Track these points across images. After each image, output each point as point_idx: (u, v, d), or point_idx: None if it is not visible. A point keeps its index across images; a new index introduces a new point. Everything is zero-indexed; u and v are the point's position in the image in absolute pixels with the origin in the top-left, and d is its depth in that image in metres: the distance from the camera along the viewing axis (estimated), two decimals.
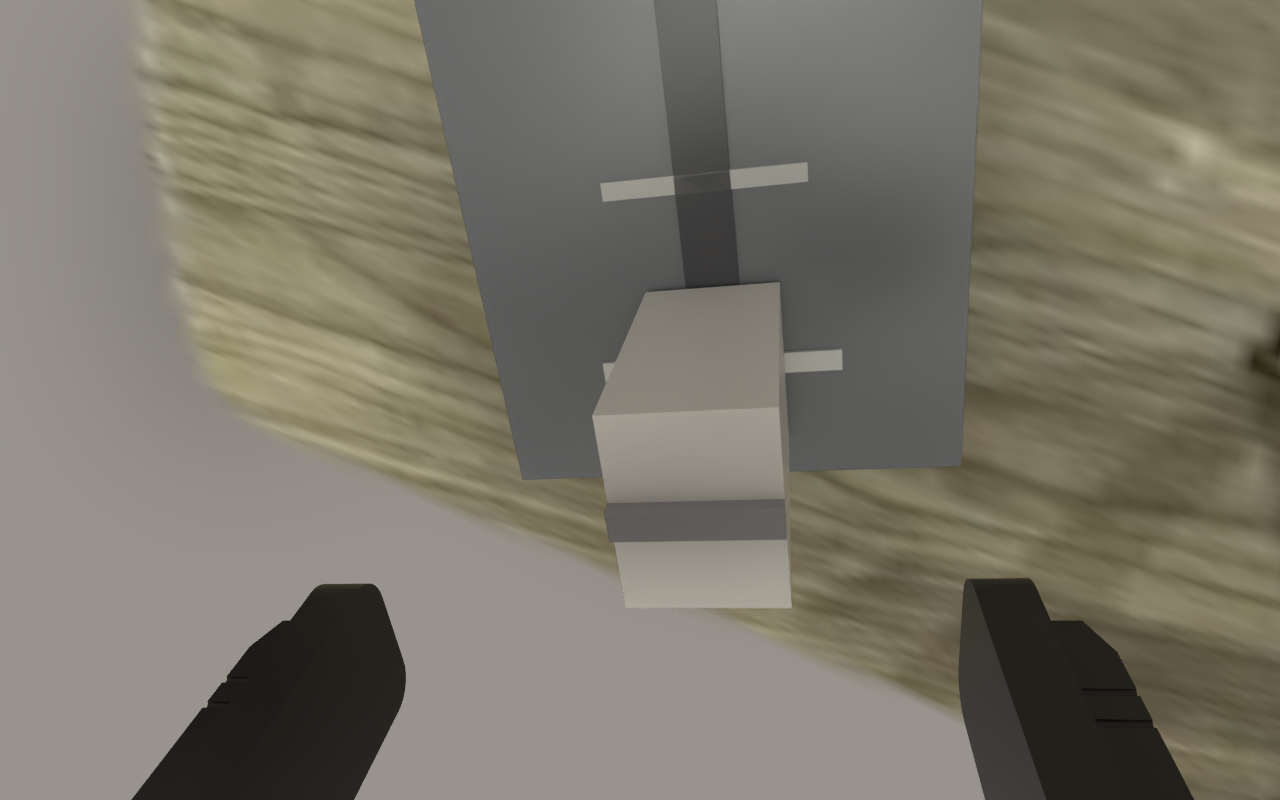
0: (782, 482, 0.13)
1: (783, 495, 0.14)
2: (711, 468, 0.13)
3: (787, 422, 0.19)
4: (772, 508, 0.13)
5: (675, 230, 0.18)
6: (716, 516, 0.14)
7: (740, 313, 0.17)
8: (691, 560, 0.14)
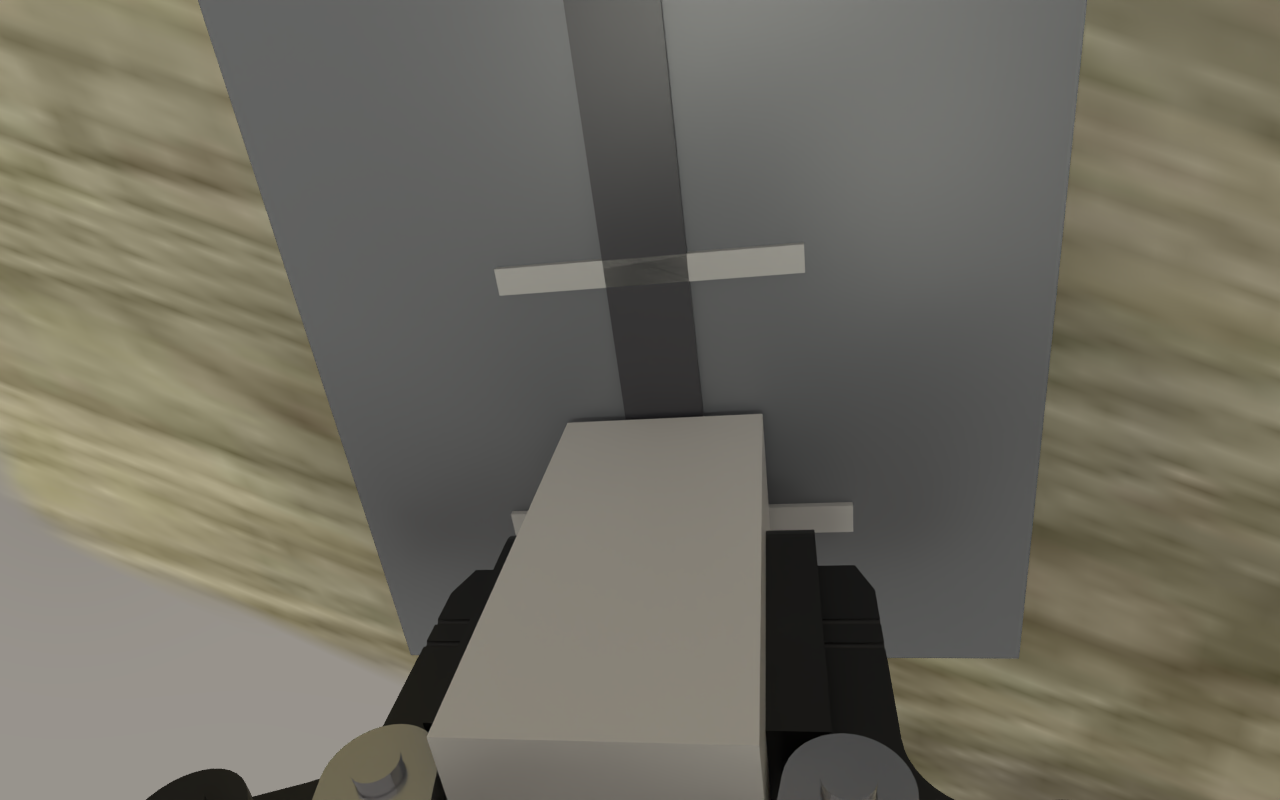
0: None
1: None
2: None
3: None
4: None
5: (608, 337, 0.12)
6: None
7: (701, 479, 0.11)
8: None
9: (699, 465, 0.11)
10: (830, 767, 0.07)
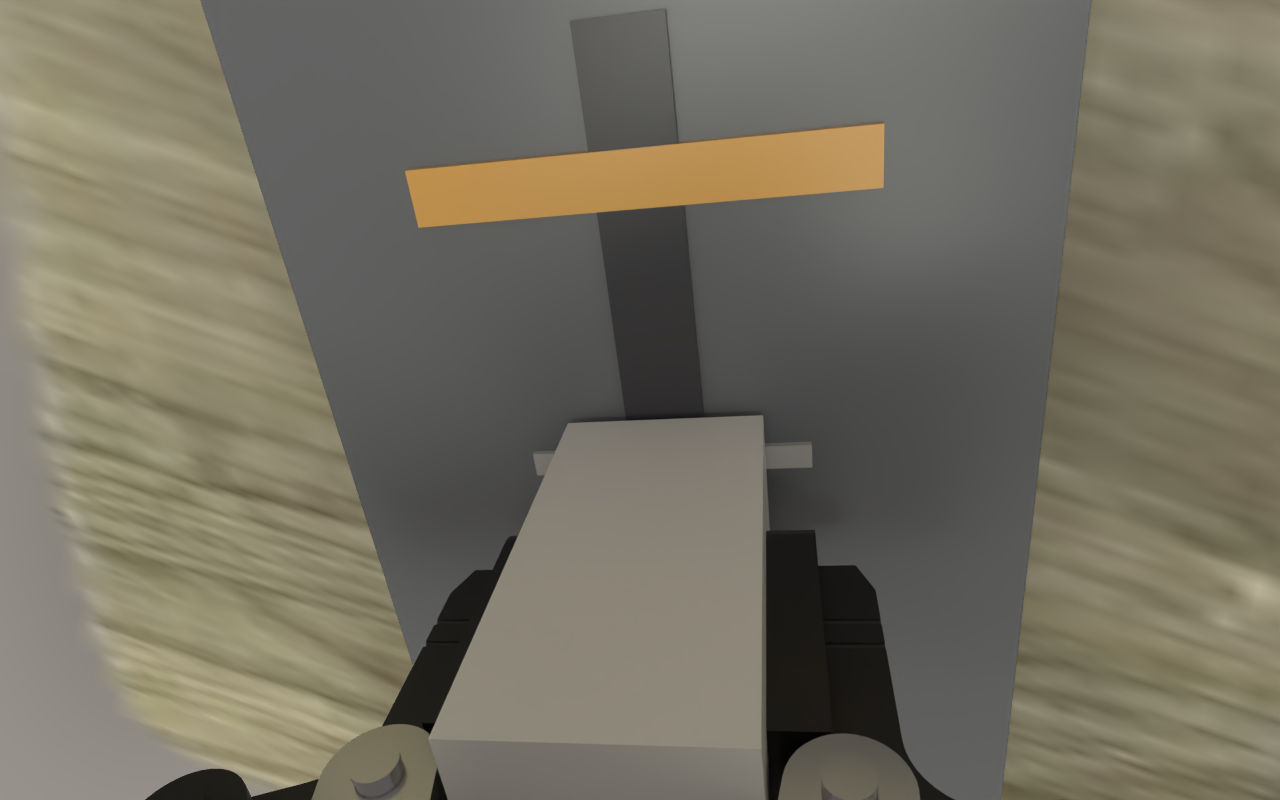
0: None
1: None
2: None
3: None
4: None
5: None
6: None
7: (702, 481, 0.11)
8: None
9: (700, 466, 0.11)
10: (831, 767, 0.07)
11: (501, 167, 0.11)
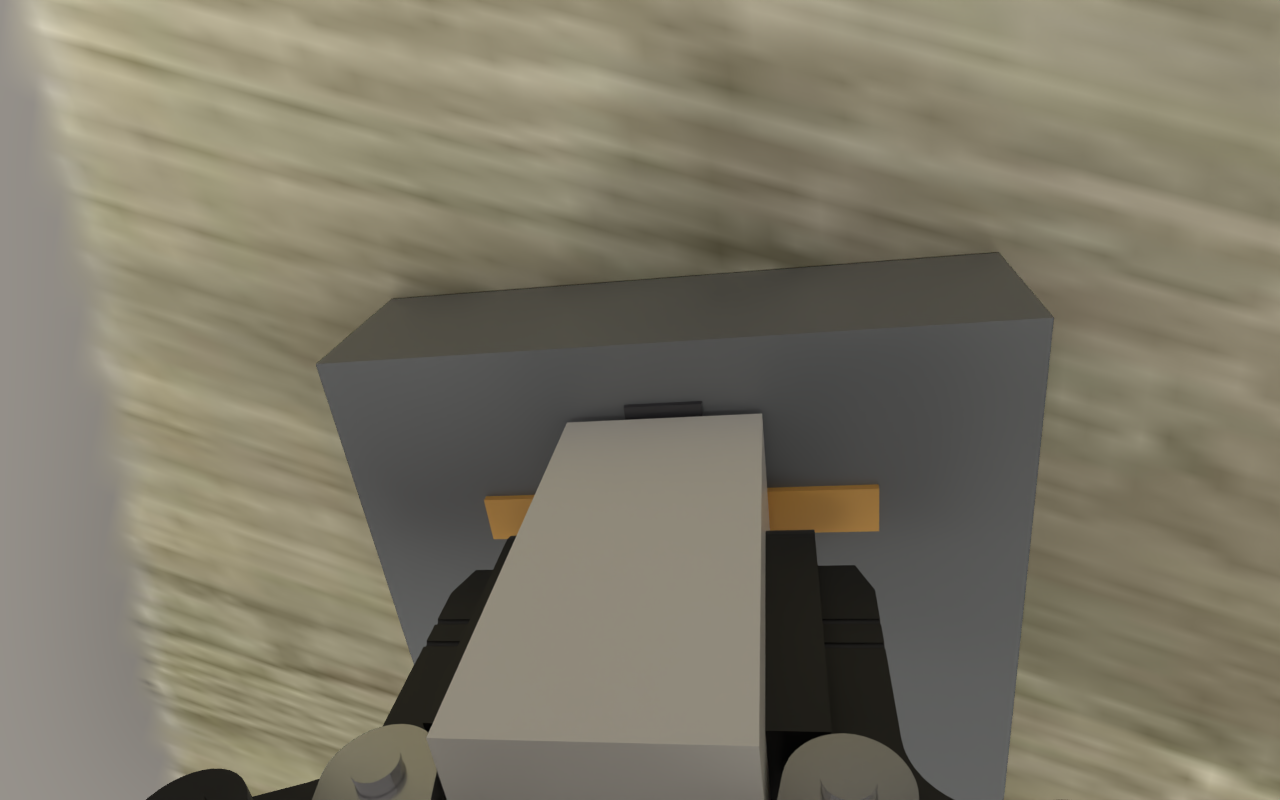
0: None
1: None
2: None
3: None
4: None
5: None
6: None
7: (701, 479, 0.11)
8: None
9: (699, 465, 0.11)
10: (830, 766, 0.07)
11: None
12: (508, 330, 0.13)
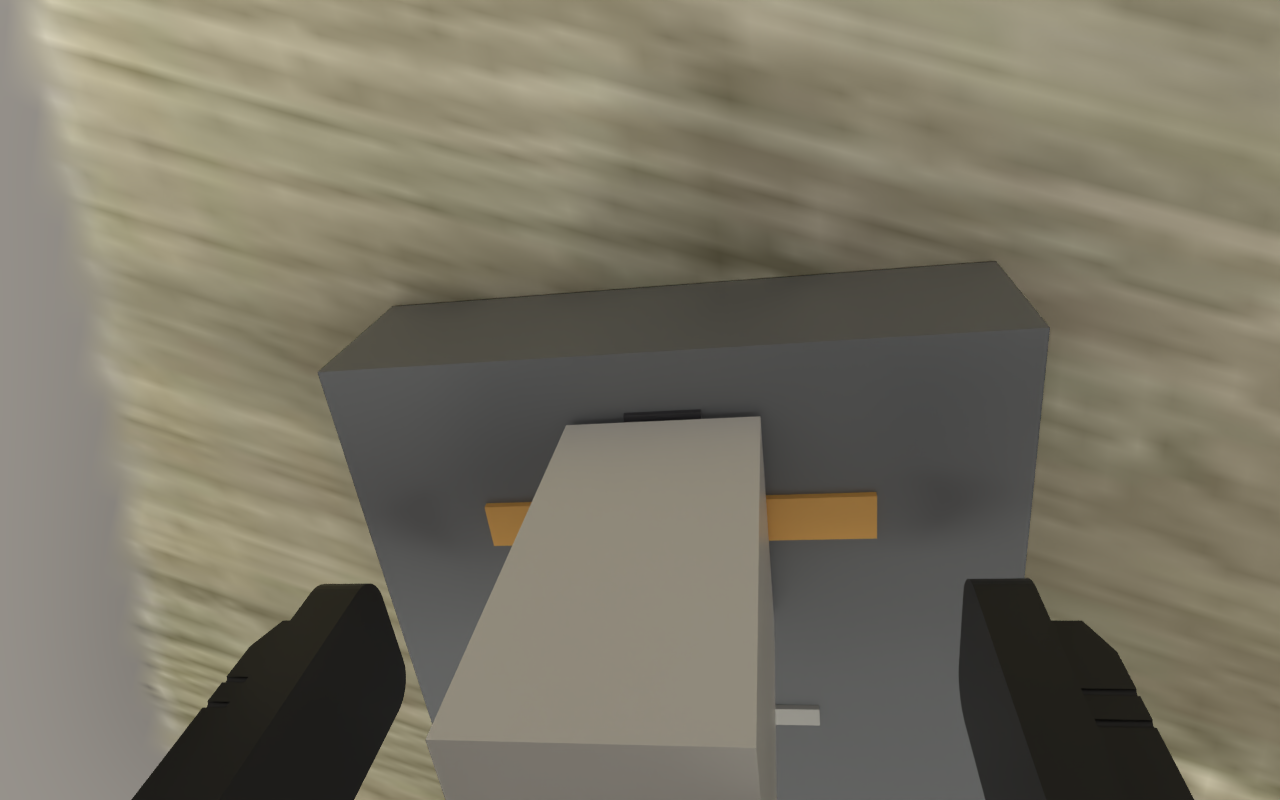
0: None
1: None
2: None
3: (772, 608, 0.13)
4: None
5: None
6: None
7: (699, 482, 0.11)
8: None
9: (697, 468, 0.11)
10: None
11: None
12: (509, 338, 0.14)
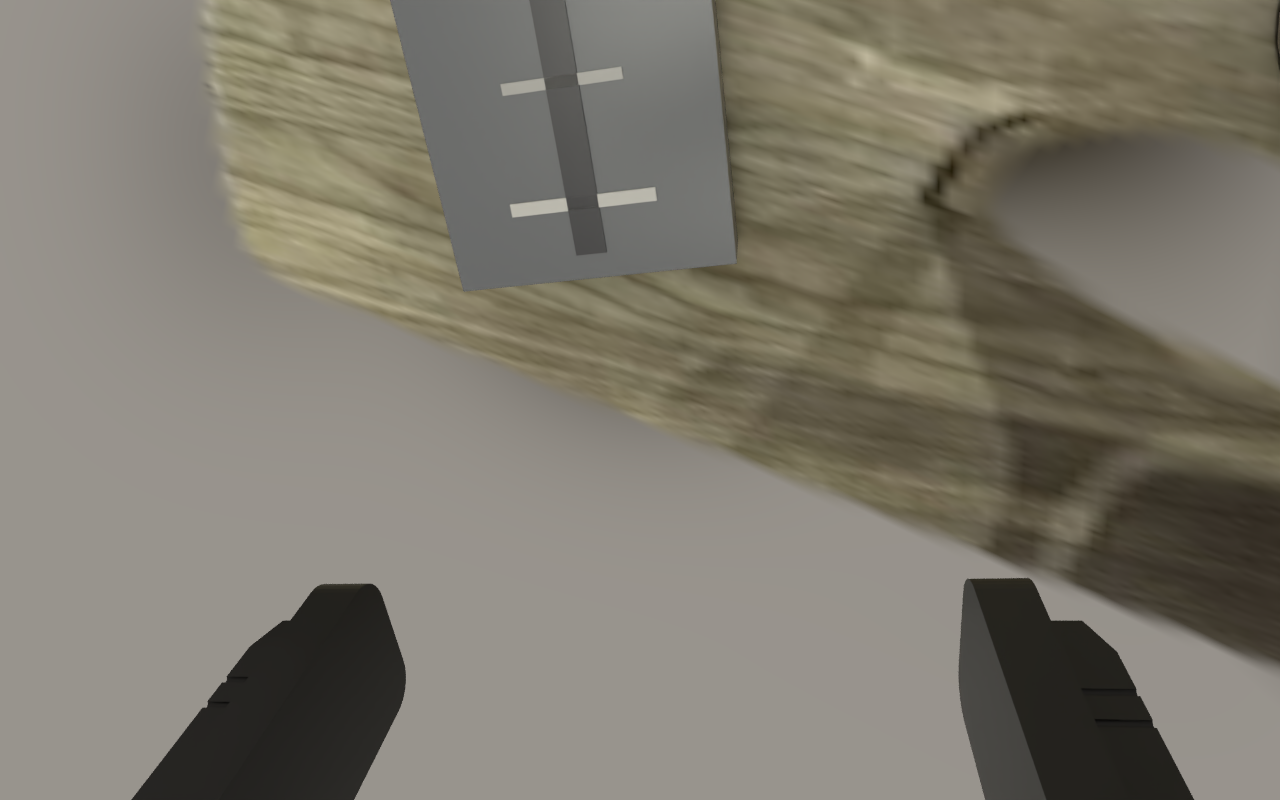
0: None
1: None
2: None
3: None
4: None
5: (548, 113, 0.30)
6: None
7: None
8: None
9: None
10: None
11: None
12: None
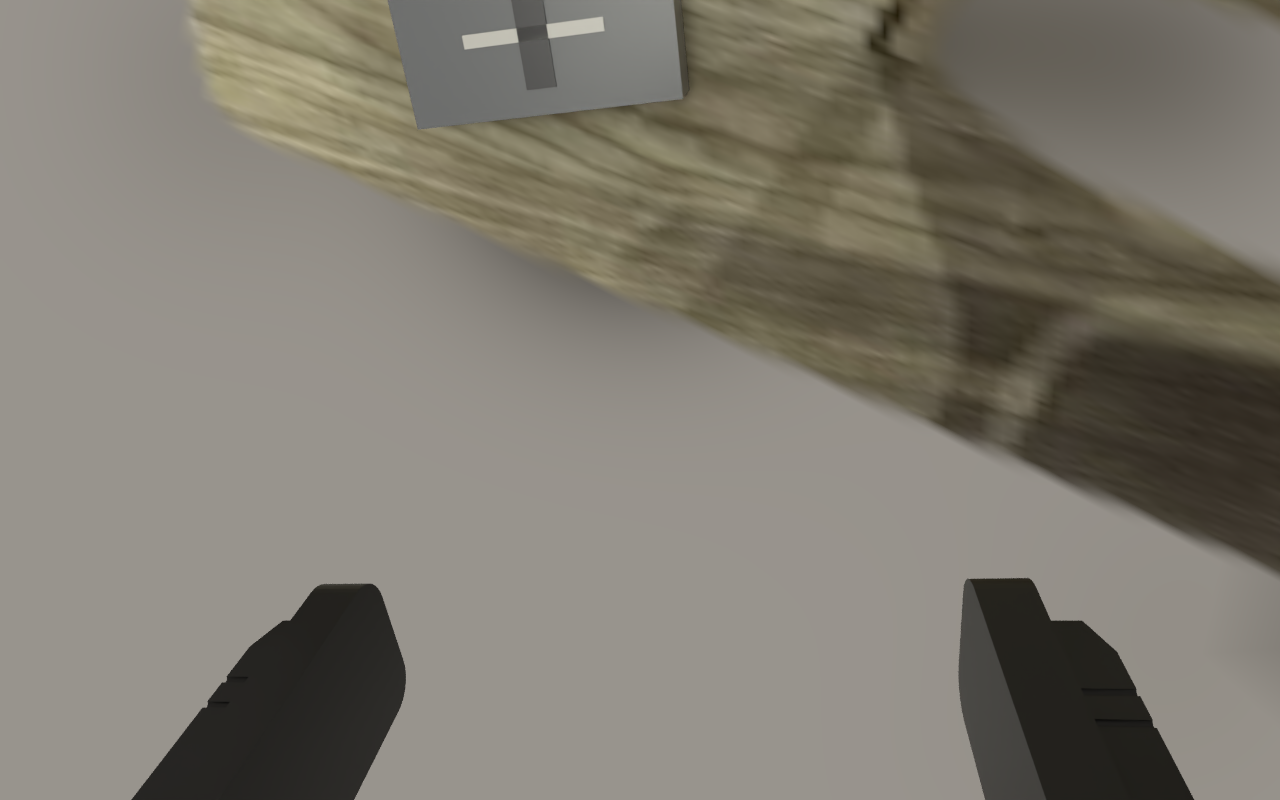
0: None
1: None
2: None
3: None
4: None
5: None
6: None
7: None
8: None
9: None
10: None
11: None
12: None
